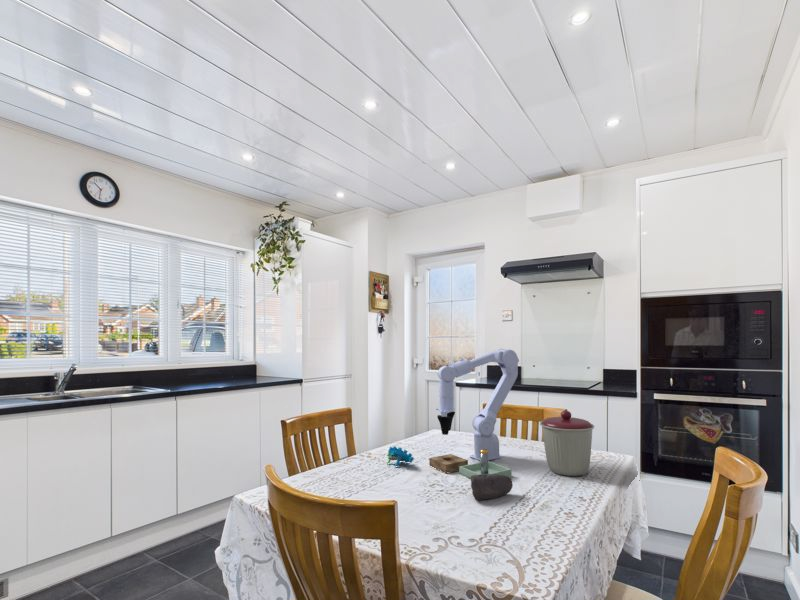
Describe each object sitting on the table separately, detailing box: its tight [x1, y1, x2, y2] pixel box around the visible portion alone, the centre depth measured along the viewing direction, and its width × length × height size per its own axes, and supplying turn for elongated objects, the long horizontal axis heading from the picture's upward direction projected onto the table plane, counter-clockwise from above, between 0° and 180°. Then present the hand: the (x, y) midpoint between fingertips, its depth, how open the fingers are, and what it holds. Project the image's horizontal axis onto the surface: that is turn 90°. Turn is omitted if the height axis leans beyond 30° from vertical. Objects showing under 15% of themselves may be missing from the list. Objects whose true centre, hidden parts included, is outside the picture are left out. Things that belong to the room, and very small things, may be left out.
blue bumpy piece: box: [386, 445, 414, 467], centre depth 162 cm, size 11×6×10 cm
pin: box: [480, 449, 489, 475], centre depth 150 cm, size 3×3×8 cm
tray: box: [458, 460, 512, 480], centre depth 150 cm, size 13×12×2 cm
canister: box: [539, 410, 595, 477], centre depth 153 cm, size 18×18×21 cm
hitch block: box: [428, 453, 469, 474], centre depth 159 cm, size 10×10×3 cm
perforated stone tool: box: [470, 474, 513, 501], centre depth 130 cm, size 15×5×7 cm, turn 110°
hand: (446, 432), depth 170 cm, fingers open, 7 cm apart
